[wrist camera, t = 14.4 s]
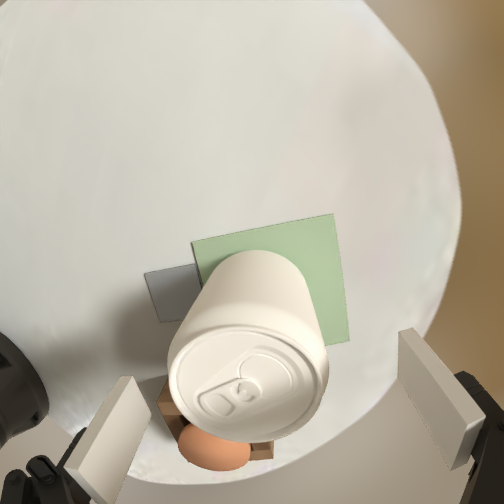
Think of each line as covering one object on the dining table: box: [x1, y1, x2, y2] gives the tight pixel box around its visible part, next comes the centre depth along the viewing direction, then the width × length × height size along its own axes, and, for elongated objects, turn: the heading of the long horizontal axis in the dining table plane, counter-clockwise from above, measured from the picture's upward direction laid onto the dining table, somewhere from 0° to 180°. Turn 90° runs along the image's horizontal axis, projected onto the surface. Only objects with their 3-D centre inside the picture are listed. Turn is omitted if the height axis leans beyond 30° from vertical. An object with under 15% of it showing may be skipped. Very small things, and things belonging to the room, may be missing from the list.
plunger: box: [178, 423, 251, 471], centre depth 24 cm, size 6×6×6 cm
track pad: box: [145, 264, 202, 322], centre depth 25 cm, size 4×4×1 cm
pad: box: [192, 214, 350, 346], centre depth 25 cm, size 11×11×1 cm
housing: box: [156, 378, 274, 462], centre depth 26 cm, size 8×8×4 cm
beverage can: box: [167, 250, 329, 443], centre depth 19 cm, size 8×8×12 cm
